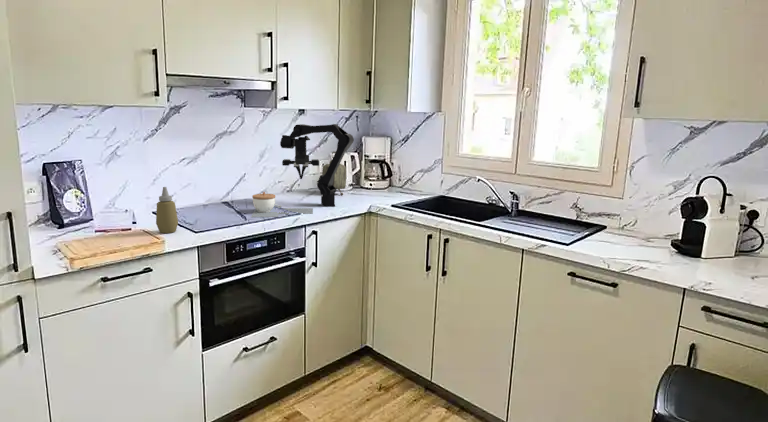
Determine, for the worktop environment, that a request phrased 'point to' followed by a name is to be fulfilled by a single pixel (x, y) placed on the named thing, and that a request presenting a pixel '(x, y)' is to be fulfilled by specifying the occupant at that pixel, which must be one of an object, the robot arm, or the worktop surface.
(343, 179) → the olive tall container
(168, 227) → the squeeze bottle
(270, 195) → the lidded jar
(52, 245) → the worktop surface
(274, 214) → the t mat
